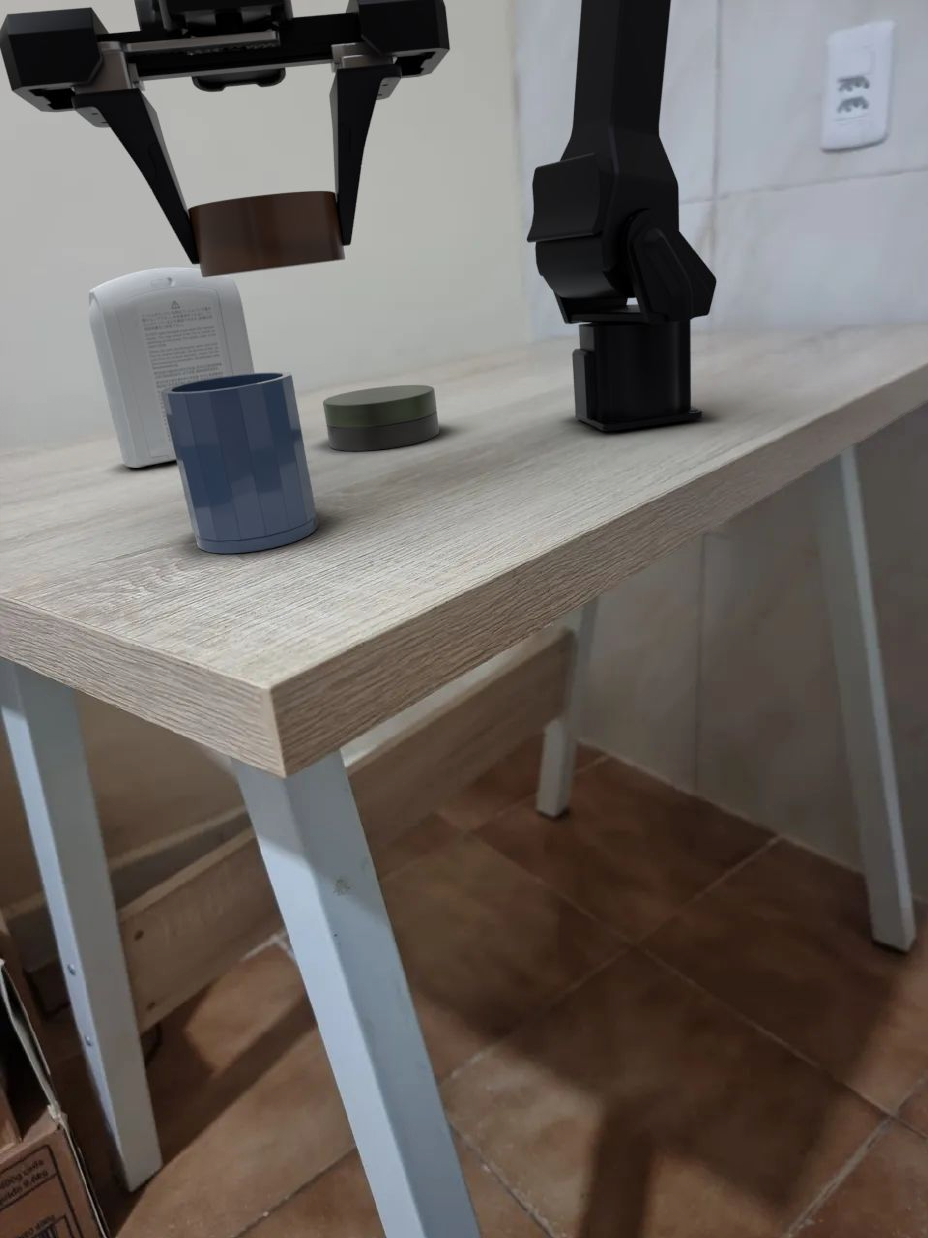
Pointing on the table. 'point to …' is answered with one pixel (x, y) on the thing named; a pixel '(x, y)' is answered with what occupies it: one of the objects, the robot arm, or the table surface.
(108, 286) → the photo printer
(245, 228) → the walnut chip
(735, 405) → the table surface
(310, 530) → the blue cup
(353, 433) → the green and grey disc
